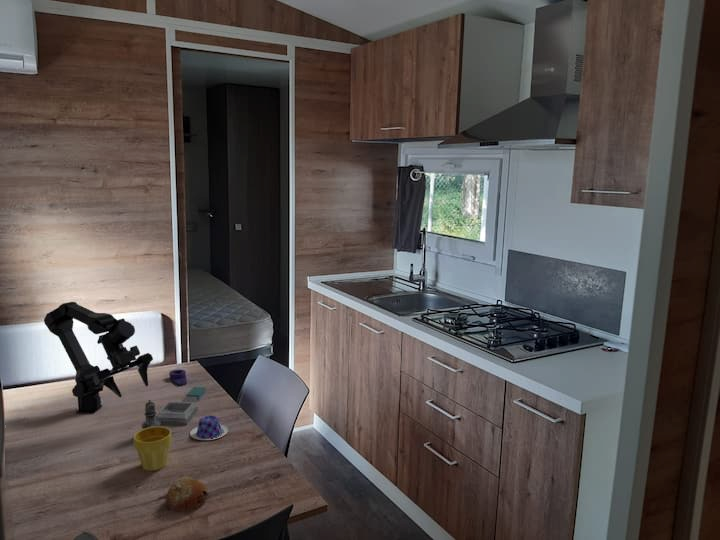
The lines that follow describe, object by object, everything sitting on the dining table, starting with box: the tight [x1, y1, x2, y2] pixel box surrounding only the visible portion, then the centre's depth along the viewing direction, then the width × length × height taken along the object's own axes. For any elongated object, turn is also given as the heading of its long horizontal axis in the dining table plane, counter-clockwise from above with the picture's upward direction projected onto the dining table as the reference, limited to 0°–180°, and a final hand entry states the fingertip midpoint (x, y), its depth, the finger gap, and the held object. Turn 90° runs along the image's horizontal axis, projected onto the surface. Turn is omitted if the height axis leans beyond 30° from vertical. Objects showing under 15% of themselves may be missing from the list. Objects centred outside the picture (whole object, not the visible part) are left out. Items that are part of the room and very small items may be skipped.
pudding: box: [189, 415, 229, 441], centre depth 190 cm, size 12×12×5 cm
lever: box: [168, 369, 188, 387], centre depth 236 cm, size 12×6×3 cm, turn 30°
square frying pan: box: [156, 386, 207, 425], centre depth 210 cm, size 11×29×4 cm, turn 176°
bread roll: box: [165, 476, 209, 512], centre depth 151 cm, size 10×10×8 cm
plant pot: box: [132, 425, 173, 472], centre depth 168 cm, size 10×10×10 cm
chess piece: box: [141, 399, 162, 429], centre depth 187 cm, size 6×6×12 cm
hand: (134, 391), depth 192 cm, fingers open, 9 cm apart
